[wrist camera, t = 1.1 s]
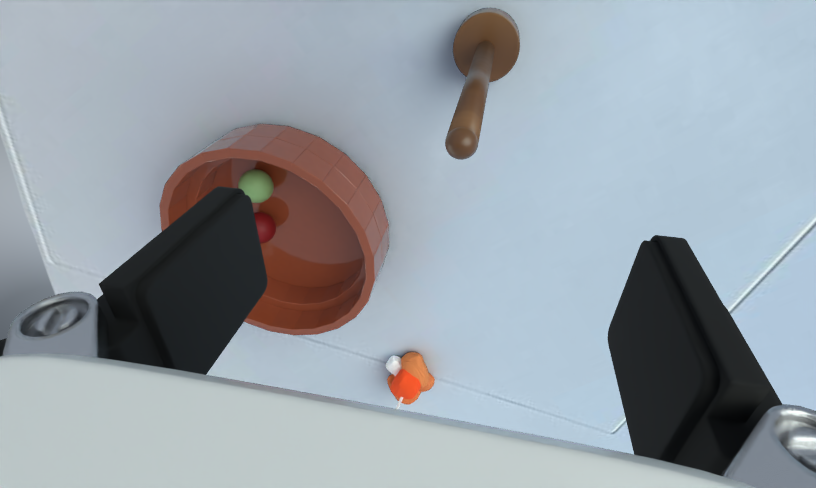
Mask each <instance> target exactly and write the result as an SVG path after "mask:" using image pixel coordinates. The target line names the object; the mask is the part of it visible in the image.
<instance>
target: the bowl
mask: <svg viewBox="0 0 816 488" xmlns="http://www.w3.org/2000/svg"><path fill="white" fill-rule="evenodd" d="M252 169H258V170H262V171H264V172H266V173H267V174H268V175H269V176H270V177H271V179H272V181H273V185H274V189H273V193H272V195H271V196H270V197H269V198H268V199H267V200H266V201H264V202H261V203H252V206H253V211H254V213H256V212H263V213H266V214H268V215H270V216H271V217H272V218H273V219H274V221H275V223H276V232H275V235H274V236H273V238H272V239H271V240H269V241H268V242H266V243H260V245H261V249H262V254H263V259H264V264H265V269H266V273H267V279H268V282H267V288H266V290H265V292H264V294H263V295H262V297H261V298H260V299H259V301H258V302H257V304H256V305H255V306H254V308H253V309H252V311H251V312H250V313H249V315H248V316H247V318H246V319H245V320H244V322H246V323H248V324H251V325H254V326H257V327H260V328H262V329H265V330H268V331H272V332H278V333H284V334H290V335H313V334H320V333H324V332H327V331H331V330H334V329H338V328H340V327H341V326H343V325H344V324H346V323H348V322H349V321H351V320H352V319H354V318H355V317H356V316H357V315H358V314H359V313H360V311H361V310H362V309H363V308H364V306H365V305H366V304H367V302H368V301H369V299H370V296H371V294H372V291H373V289H374V286H375V284H376V281H377V278H378V276H379V274H380V271H381V269H382V266H383V263H384V260H385V257H386V254H387V251H388V247H389V224H388V220H387V217H386V214H385V211H384V207H383V204H382V201H381V199H380V197H379V195H378V193H377V192H376V190H375V189H374V187H373V185H372V184H371V182H370V181H369V179H368V177H367V176H366V174H365V173H364V172H363V171H362V170H361V169H360V168H359V167H358V166H357V165H356V164H355V163H354V162H353V161H352V160H351V159H350V158H349V157H348V156H347V155H346V154H344V153H343V152H342V151H340V150H339V149H337V148H336V147H334V146H332V145H331V144H329V143H328V142H326V141H324V140H323V139H321V138H320V137H318V136H315V135H312V134H310V133H307V132H304V131H301V130H298V129H295V128H292V127H289V126H280V125H269V124H257V125H252V126H247V127H242V128H237V129H234V130H232V131H231V132H229V133H227V134H226V135H224V136H222V137H221V138H219V139H217V140H215V141H214V142H213V143H211V144H210V145H208V146H207V147H205V148H204V149H202V150H201V151H200V152H198V153H197V154H195V155H194V156H192V157H191V158H189V159H188V160H186V161H185V162H184V163H182V164H181V165H179V166H178V168H177V169H176V170H175V172H174V173H173V174H172V176H171V177H170V178H169V179H168V181H167V182H166V184H165V186H164V190H163V194H162V198H161V202H160V218H161V229H162V231H164V230H165V229H166V228H167V227H168V226H170V225H171V224H172V223H173V222H174V221H176V220H177V219H178V218H179V217H180V216H182V215H183V214H184V213H185V212H187V211H188V210H189V209H190V208H191V207H193V206H194V205H195V204H196V203H197V202H199V201H200V200H201V199H202V198H203V197H205V196H206V195H207V194H208V193H210V192H211V191H212V190H213V189H214V188H216V187H218V186H221V187H230V188H238V182H239V179H240V177H241V176H242V175H243V174H244V173H245V172H246V171H249V170H252Z"/></svg>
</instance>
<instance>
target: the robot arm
mask: <svg viewBox="0 0 816 488" xmlns="http://www.w3.org/2000/svg"><path fill="white" fill-rule="evenodd" d="M267 282H268V279H267V273H266V269H265V264H264V259H263V254H262V249H261V245H260V240H259V235H258V230H257V225H256V221H255V216H254V211H253V206H252V201H251V198H250V197H249V196H248V195H245V193H244V191H243V190H242V189H239V188H230V187H221V186H218V187H216V188H214V189H213V190H212V191H211V192H210V193H208V194H207V195H206V196H205V197H203V198H202V199H201V200H200V201H199V202H197V203H196V204H195V205H194V206H193V207H191V208H190V209H189V210H188V211H187V212H185V213H184V214H183V215H182V216H180V217H179V218H178V219H177V220H176V221H174V222H173V223H172V224H171V225H170V226H168V227H167V228H166V229H165V230H164V231H162V232H161V233H160V234H159V235H157V236H156V237H155V238H154V239H153V240H151V241H150V242H149V243H148V244H147V245H145V246H144V247H143V248H142V249H141V250H139V251H138V252H137V253H136V254H134V255H133V256H132V257H131V258H130V259H128V260H127V261H126V262H125V263H124V264H122V265H121V266H120V267H119V268H118V269H116V270H115V271H114V272H113V273H112V274H110V275H109V276H108V277H107V278H105V279H104V280H103V281H102V282H101V283H99V286H100V288H101V290H102V292H103V295H102V296H101V297H99V298H98V299H96V298H95V297H94V296H93V295H91V294H89V293H85V292H67V293H62V294H57V295H54V296H51V297H48V298H45V299H43V300H41V301H39V302H37V303H35V304H33V305H31V306H30V307H28V308H27V309H25V310H24V311H22V312H21V313H20V314H19V315H18V316H17V317H16V318H15V319H14V320H13V322H12V324H11V326H10V328H9V331H8V335H7V338H6V339H3V340H0V488H816V411H814V410H811V409H807V408H804V407H801V406H795V405H785V404H784V405H782V403H781V401H780V399H779V398H778V396H777V394H776V393H775V391H774V389H773V387H772V386H771V384H770V382H769V381H768V379H767V377H766V375H765V374H764V372H763V370H762V368H761V367H760V365H759V363H758V362H757V360H756V358H755V356H754V355H753V353H752V351H751V349H750V348H749V346H748V344H747V343H746V341H745V339H744V337H743V336H742V334H741V332H740V330H739V329H738V327H737V325H736V324H735V322H734V320H733V318H732V317H731V315H730V313H729V312H728V310H727V309H726V307H725V306H724V305H723V303H722V302H721V300H720V298H719V296H718V295H717V293H716V291H715V290H714V288H713V286H712V284H711V283H710V281H709V279H708V277H707V276H706V274H705V272H704V270H703V269H702V267H701V265H700V263H699V262H698V260H697V258H696V257H695V255H694V253H693V251H692V250H691V248H690V246H689V244H688V243H687V241H686V240H685V239H683V238H676V237H667V236H658V235H655V236H653V237H652V239H651V240H650V241H643V242H642V243H641V245H640V248H639V250H638V253H637V256H636V258H635V261H634V264H633V266H632V269H631V271H630V274H629V277H628V279H627V282H626V285H625V287H624V290H623V293H622V295H621V298H620V300H619V303H618V306H617V308H616V311H615V314H614V316H613V319H612V322H611V324H610V327H609V331H608V344H609V349H610V353H611V357H612V361H613V366H614V370H615V374H616V378H617V383H618V387H619V391H620V395H621V400H622V404H623V408H624V412H625V417H626V421H627V425H628V429H629V434H630V438H631V442H632V446H633V451H634V455H633V454H628V453H623V452H619V451H614V450H609V449H604V448H599V447H594V446H589V445H584V444H579V443H574V442H569V441H565V440H559V439H554V438H549V437H543V436H538V435H533V434H527V433H522V432H517V431H511V430H506V429H501V428H495V427H490V426H485V425H479V424H474V423H469V422H463V421H458V420H453V419H448V418H442V417H437V416H432V415H426V414H421V413H415V412H410V411H404V410H399V409H393V408H388V407H382V406H377V405H371V404H366V403H361V402H355V401H350V400H344V399H339V398H333V397H327V396H322V395H316V394H311V393H305V392H300V391H294V390H289V389H283V388H278V387H272V386H266V385H261V384H255V383H249V382H244V381H238V380H232V379H227V378H221V377H215V376H210V375H206V374H207V373H208V371H209V370H210V368H211V367H212V366H213V364H214V363H215V361H216V360H217V359H218V357H219V356H220V354H221V353H222V351H223V350H224V349H225V347H226V346H227V344H228V343H229V342H230V340H231V339H232V337H233V336H234V335H235V333H236V332H237V330H238V329H239V328H240V326H241V325H242V323H243V322H244V320H245V319H246V318H247V316H248V315H249V313H250V312H251V311H252V309H253V308H254V306H255V305H256V304H257V302H258V301H259V299H260V298H261V297H262V295H263V294H264V292H265V290H266V288H267Z"/></svg>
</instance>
